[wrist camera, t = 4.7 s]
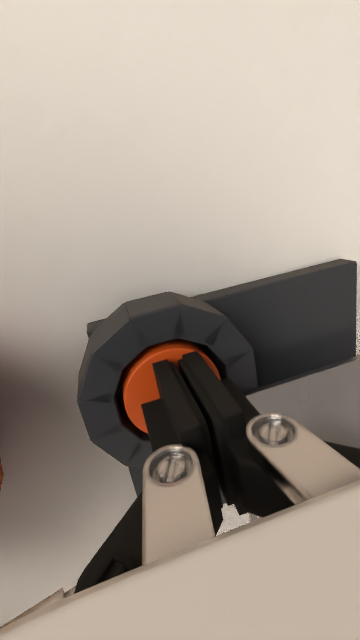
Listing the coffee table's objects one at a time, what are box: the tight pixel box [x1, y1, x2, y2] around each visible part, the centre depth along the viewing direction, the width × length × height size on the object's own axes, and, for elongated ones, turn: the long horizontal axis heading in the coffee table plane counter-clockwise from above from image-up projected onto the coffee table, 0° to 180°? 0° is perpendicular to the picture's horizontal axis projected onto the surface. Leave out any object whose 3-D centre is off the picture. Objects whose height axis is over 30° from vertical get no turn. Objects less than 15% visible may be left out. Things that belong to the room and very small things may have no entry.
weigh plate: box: [243, 355, 360, 523], centre depth 14 cm, size 7×7×1 cm
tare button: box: [120, 338, 221, 434], centre depth 13 cm, size 4×4×2 cm
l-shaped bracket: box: [77, 259, 357, 504], centre depth 14 cm, size 13×12×3 cm
